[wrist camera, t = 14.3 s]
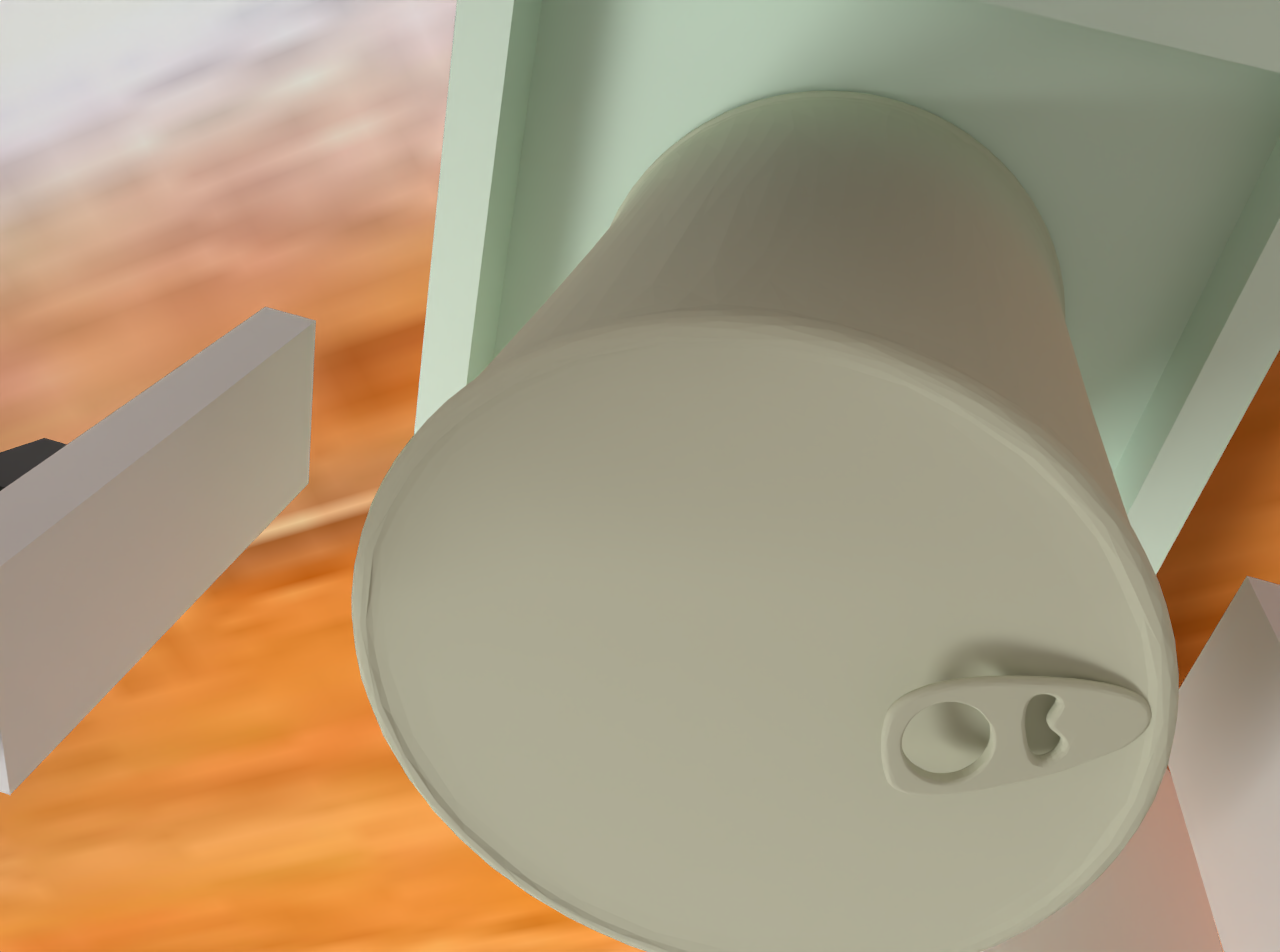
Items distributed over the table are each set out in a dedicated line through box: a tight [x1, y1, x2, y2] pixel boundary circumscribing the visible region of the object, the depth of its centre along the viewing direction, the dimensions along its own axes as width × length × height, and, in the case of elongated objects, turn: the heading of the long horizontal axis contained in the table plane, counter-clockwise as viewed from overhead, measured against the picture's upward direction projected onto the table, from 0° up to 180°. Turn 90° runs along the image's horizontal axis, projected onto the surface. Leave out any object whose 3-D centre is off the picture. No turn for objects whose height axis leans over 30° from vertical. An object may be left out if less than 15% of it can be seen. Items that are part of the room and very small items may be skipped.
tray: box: [414, 0, 1280, 574], centre depth 22 cm, size 15×15×2 cm
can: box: [352, 90, 1179, 952], centre depth 17 cm, size 9×9×12 cm
